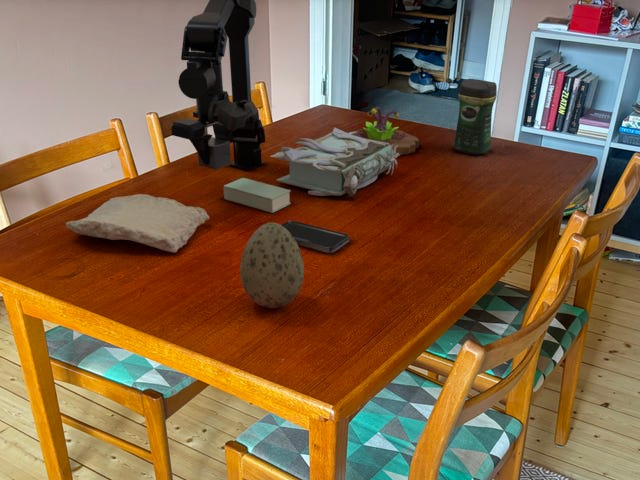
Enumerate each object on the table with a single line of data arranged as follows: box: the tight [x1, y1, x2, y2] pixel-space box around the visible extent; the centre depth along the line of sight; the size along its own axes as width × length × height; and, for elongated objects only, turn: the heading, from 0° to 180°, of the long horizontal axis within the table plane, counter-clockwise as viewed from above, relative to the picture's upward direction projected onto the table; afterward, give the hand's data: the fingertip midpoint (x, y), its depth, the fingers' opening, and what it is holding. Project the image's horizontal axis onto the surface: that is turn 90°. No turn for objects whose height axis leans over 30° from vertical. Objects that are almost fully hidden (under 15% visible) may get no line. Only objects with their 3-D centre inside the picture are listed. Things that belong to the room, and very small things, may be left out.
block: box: [197, 136, 232, 171], centre depth 161 cm, size 5×5×5 cm
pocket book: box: [223, 177, 292, 214], centre depth 168 cm, size 14×7×3 cm, turn 56°
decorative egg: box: [239, 222, 305, 309], centre depth 125 cm, size 11×11×15 cm
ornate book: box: [270, 126, 401, 198], centre depth 181 cm, size 23×10×30 cm
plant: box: [351, 106, 420, 156], centre depth 201 cm, size 20×20×11 cm
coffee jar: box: [453, 78, 498, 156], centre depth 198 cm, size 10×8×19 cm
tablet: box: [65, 193, 210, 254], centre depth 151 cm, size 24×8×20 cm
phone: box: [280, 220, 350, 254], centre depth 152 cm, size 8×1×15 cm
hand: (214, 161), depth 162 cm, fingers closed on block, 5 cm apart
